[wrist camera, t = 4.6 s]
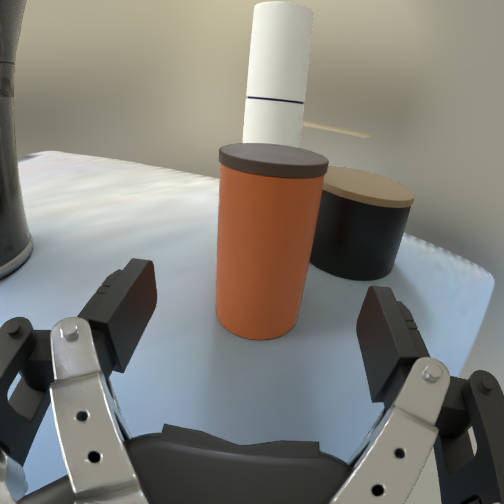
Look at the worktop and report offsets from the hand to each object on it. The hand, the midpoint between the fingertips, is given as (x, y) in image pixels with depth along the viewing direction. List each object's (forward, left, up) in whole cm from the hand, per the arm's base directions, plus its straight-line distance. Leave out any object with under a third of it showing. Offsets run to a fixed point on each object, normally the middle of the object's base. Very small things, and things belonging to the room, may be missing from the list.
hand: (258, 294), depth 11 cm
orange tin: (-3, +5, -6) cm, 9 cm away
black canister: (-1, +17, -6) cm, 18 cm away
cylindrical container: (-15, +25, -6) cm, 30 cm away
